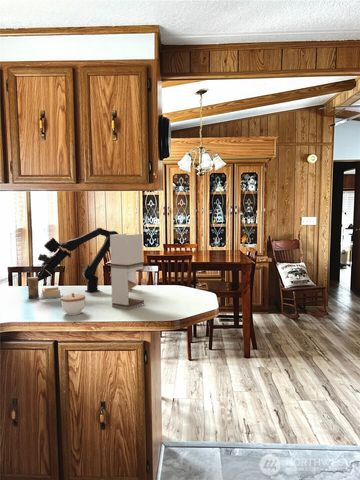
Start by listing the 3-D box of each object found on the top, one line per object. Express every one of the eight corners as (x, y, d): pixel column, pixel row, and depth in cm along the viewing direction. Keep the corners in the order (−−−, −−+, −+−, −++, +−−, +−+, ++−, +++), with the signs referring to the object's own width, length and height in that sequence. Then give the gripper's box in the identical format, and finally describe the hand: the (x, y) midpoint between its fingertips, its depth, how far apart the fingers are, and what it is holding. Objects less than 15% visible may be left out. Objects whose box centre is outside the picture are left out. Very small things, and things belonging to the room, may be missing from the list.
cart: (38, 295, 205) (37, 276, 205) (39, 298, 200) (38, 278, 199) (28, 296, 203) (27, 277, 202) (28, 299, 198) (27, 279, 197)
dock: (60, 292, 213) (60, 286, 213) (63, 296, 202) (62, 290, 202) (41, 294, 209) (40, 288, 208) (42, 298, 198) (42, 292, 197)
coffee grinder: (129, 309, 172) (127, 235, 169) (112, 307, 177) (109, 234, 175) (144, 304, 181) (142, 233, 179) (127, 301, 187) (125, 233, 184)
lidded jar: (76, 309, 175) (76, 289, 174) (90, 312, 168) (90, 292, 167) (56, 314, 166) (55, 293, 166) (70, 318, 160) (69, 296, 159)
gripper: (45, 247, 211) (25, 267, 208) (47, 250, 194) (26, 272, 190) (60, 260, 215) (40, 280, 211) (63, 263, 198) (42, 285, 194)
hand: (37, 279), depth 202 cm, fingers open, 9 cm apart
